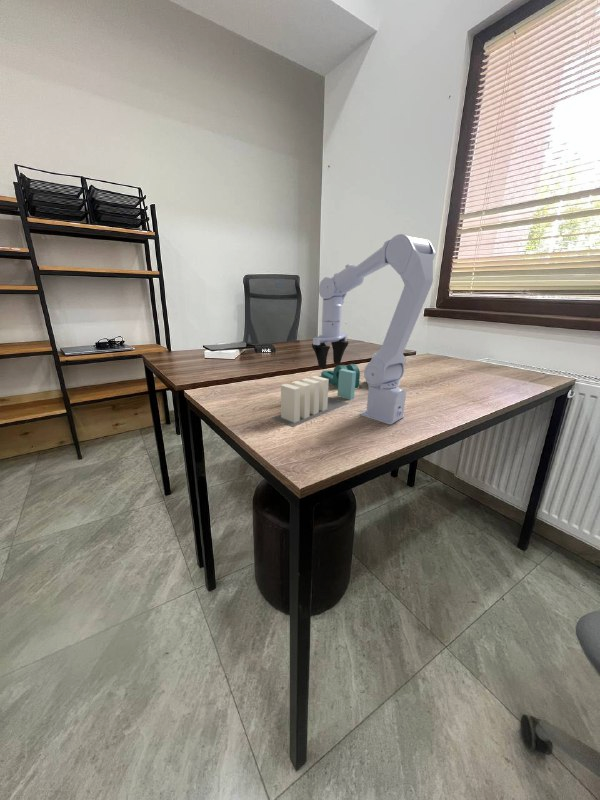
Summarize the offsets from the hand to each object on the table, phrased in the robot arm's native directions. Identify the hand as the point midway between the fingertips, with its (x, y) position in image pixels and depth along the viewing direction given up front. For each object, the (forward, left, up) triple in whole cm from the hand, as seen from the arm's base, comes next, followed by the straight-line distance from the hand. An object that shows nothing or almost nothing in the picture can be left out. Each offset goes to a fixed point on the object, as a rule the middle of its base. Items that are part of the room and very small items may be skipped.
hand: (329, 365), depth 97 cm
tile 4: (-5, +19, -10) cm, 22 cm away
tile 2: (-5, +11, -10) cm, 16 cm away
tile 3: (-5, +15, -10) cm, 19 cm away
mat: (-5, +14, -10) cm, 18 cm away
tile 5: (-5, +23, -10) cm, 25 cm away
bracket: (+8, -15, -11) cm, 20 cm away
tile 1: (-5, -2, -10) cm, 12 cm away
